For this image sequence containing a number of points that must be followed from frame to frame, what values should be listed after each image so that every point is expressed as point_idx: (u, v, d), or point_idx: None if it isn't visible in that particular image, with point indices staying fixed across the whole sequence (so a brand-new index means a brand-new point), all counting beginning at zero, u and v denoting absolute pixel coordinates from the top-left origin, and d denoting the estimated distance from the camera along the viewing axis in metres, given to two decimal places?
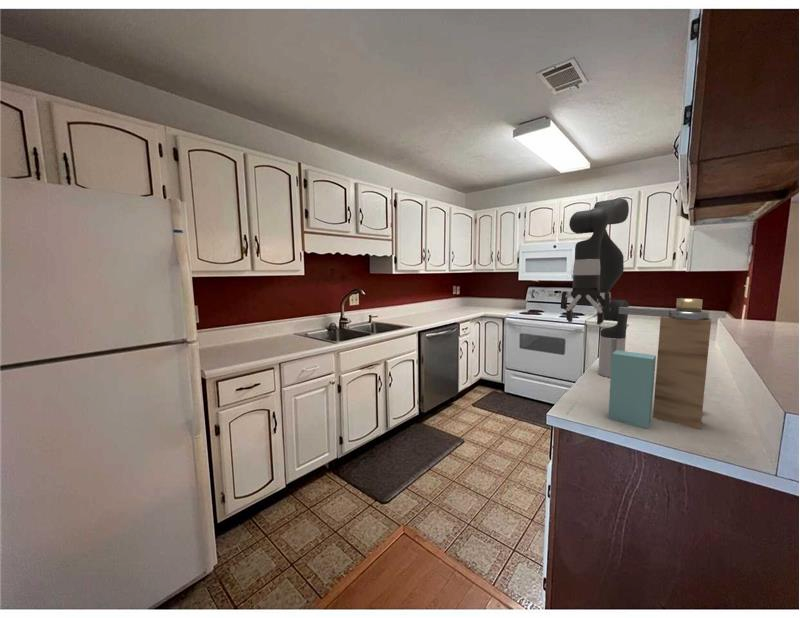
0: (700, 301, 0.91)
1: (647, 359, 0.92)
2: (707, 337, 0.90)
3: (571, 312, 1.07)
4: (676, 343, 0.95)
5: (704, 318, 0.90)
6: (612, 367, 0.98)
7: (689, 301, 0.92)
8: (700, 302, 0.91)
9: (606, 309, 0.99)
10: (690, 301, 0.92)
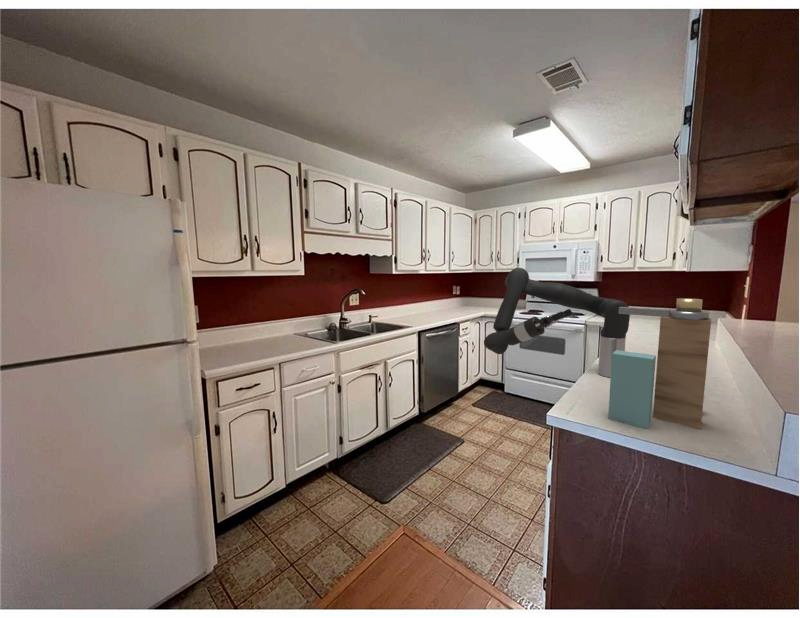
0: (700, 301, 0.91)
1: (647, 359, 0.92)
2: (707, 337, 0.90)
3: None
4: (676, 343, 0.95)
5: (704, 318, 0.90)
6: (612, 367, 0.98)
7: (689, 301, 0.92)
8: (700, 302, 0.91)
9: (550, 323, 1.16)
10: (690, 301, 0.92)
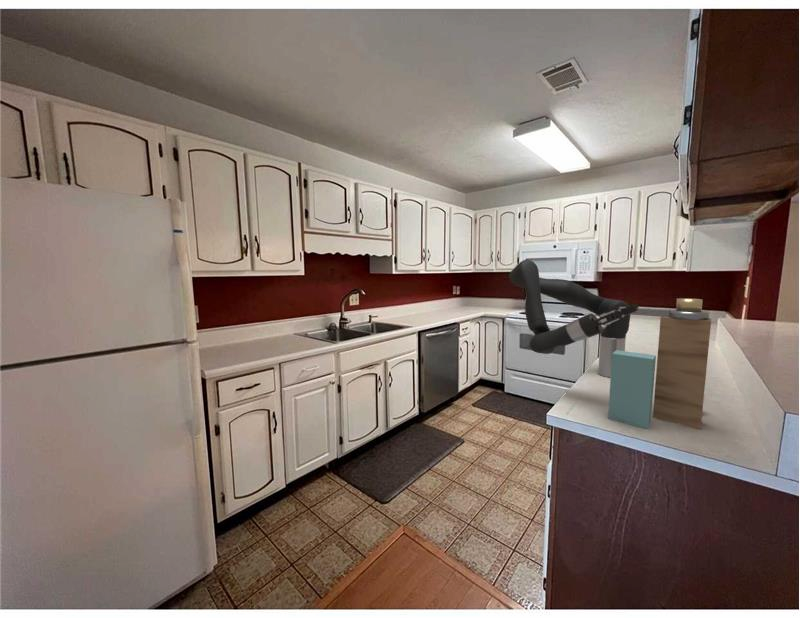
0: (700, 301, 0.91)
1: (647, 359, 0.92)
2: (707, 337, 0.90)
3: None
4: (676, 343, 0.95)
5: (704, 318, 0.90)
6: (612, 367, 0.98)
7: (689, 301, 0.92)
8: (700, 302, 0.91)
9: (619, 318, 1.03)
10: (690, 301, 0.92)
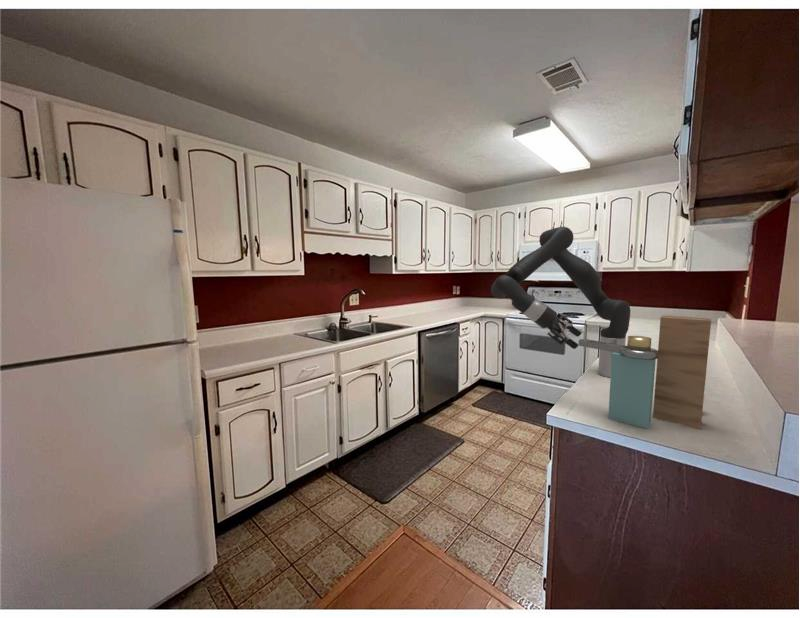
0: (646, 340, 0.92)
1: None
2: (707, 337, 0.90)
3: (571, 330, 1.18)
4: (676, 343, 0.95)
5: (648, 358, 0.90)
6: (612, 367, 0.98)
7: (635, 340, 0.93)
8: (647, 341, 0.92)
9: None
10: (636, 340, 0.93)
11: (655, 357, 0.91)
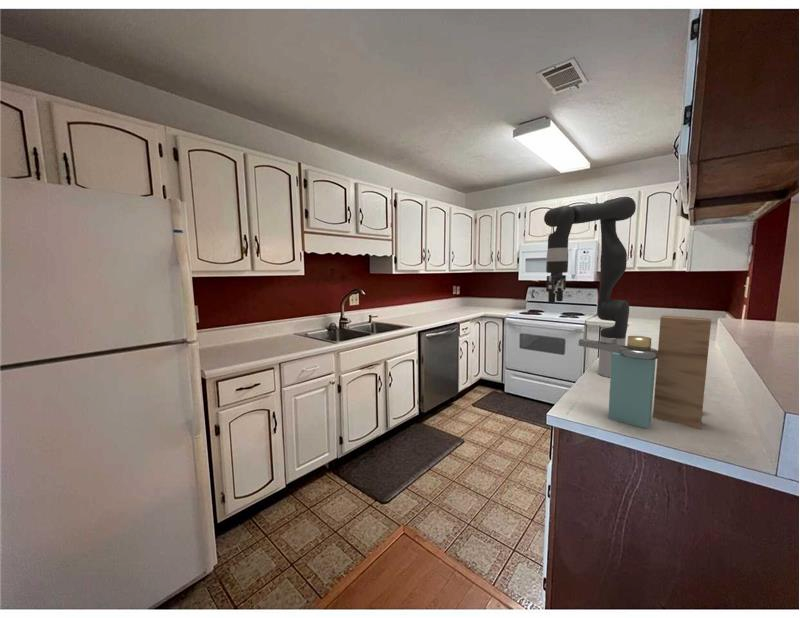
0: (646, 340, 0.92)
1: None
2: (707, 337, 0.90)
3: (559, 293, 1.27)
4: (676, 343, 0.95)
5: (648, 358, 0.90)
6: (612, 367, 0.98)
7: (635, 340, 0.93)
8: (647, 341, 0.92)
9: None
10: (636, 340, 0.93)
11: (655, 357, 0.91)
